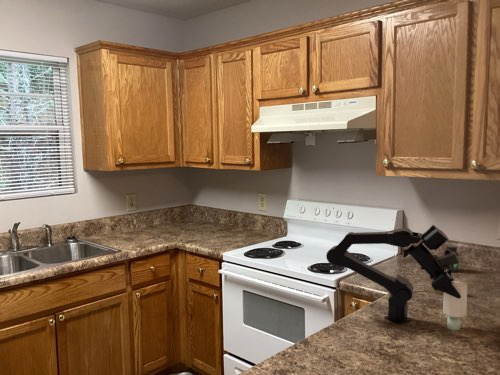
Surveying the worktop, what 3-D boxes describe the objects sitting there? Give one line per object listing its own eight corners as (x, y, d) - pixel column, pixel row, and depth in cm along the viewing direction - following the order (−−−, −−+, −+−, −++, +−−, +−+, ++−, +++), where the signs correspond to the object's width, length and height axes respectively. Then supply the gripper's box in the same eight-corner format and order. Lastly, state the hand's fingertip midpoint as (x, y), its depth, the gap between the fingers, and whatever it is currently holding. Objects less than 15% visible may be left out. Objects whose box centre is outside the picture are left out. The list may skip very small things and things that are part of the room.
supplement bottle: (459, 273, 212) (460, 248, 211) (443, 271, 215) (444, 247, 213) (457, 269, 219) (458, 245, 218) (442, 268, 221) (443, 244, 220)
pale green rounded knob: (455, 331, 147) (456, 321, 147) (444, 327, 150) (445, 317, 150) (462, 328, 149) (463, 318, 149) (451, 324, 152) (452, 314, 152)
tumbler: (466, 318, 145) (467, 288, 144) (443, 315, 147) (444, 285, 146) (465, 310, 151) (466, 282, 150) (443, 307, 154) (444, 279, 153)
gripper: (444, 249, 140) (481, 288, 137) (443, 238, 157) (477, 272, 154) (416, 271, 144) (452, 309, 141) (419, 257, 161) (451, 291, 158)
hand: (459, 294), depth 148 cm, fingers closed on tumbler, 7 cm apart
